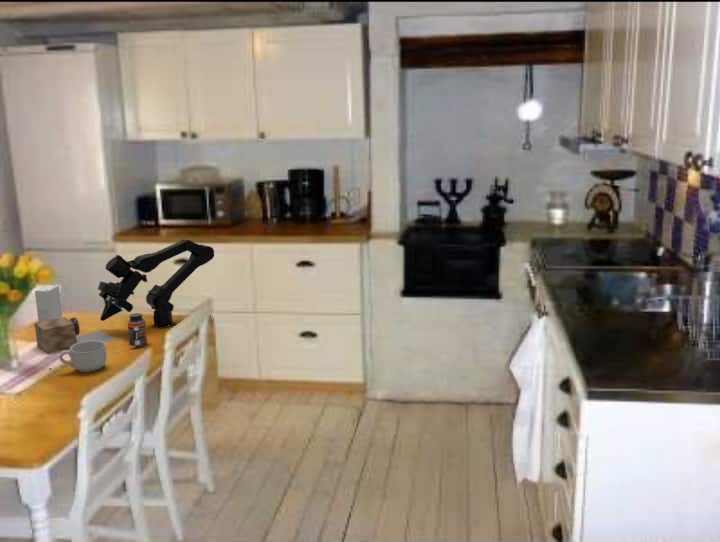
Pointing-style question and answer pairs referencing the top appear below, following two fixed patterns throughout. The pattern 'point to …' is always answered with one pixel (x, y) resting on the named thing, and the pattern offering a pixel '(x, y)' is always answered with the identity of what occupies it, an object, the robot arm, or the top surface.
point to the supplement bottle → (137, 330)
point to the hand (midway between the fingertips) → (101, 320)
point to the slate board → (88, 337)
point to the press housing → (55, 335)
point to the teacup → (86, 355)
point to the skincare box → (48, 303)
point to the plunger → (75, 325)
